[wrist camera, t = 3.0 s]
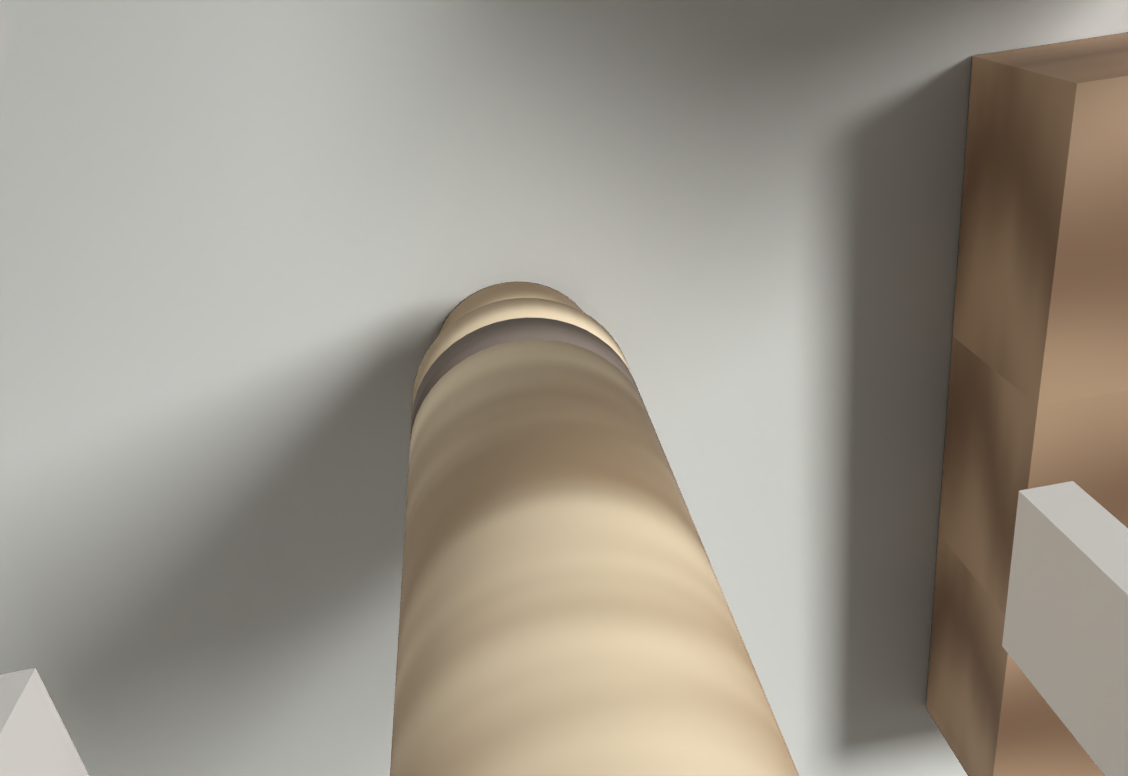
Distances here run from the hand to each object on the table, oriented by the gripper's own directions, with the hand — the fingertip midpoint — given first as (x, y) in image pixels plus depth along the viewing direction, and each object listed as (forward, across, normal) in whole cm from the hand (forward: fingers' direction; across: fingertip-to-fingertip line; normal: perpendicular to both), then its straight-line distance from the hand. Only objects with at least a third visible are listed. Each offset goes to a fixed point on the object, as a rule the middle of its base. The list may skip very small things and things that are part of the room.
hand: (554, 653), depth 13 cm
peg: (+9, 0, 0) cm, 9 cm away
